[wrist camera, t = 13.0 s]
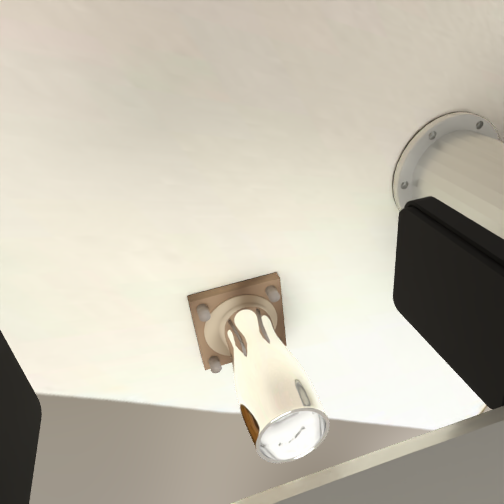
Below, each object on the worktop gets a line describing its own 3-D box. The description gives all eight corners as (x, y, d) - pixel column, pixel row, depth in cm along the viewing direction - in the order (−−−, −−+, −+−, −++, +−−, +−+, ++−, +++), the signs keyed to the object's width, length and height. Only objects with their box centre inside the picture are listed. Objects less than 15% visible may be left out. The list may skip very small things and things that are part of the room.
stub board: (276, 272, 48) (284, 285, 46) (283, 339, 54) (290, 354, 52) (187, 295, 47) (191, 311, 44) (203, 362, 52) (207, 379, 50)
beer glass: (266, 289, 47) (324, 394, 35) (280, 334, 51) (338, 443, 39) (205, 314, 47) (243, 430, 34) (225, 358, 51) (265, 476, 38)
